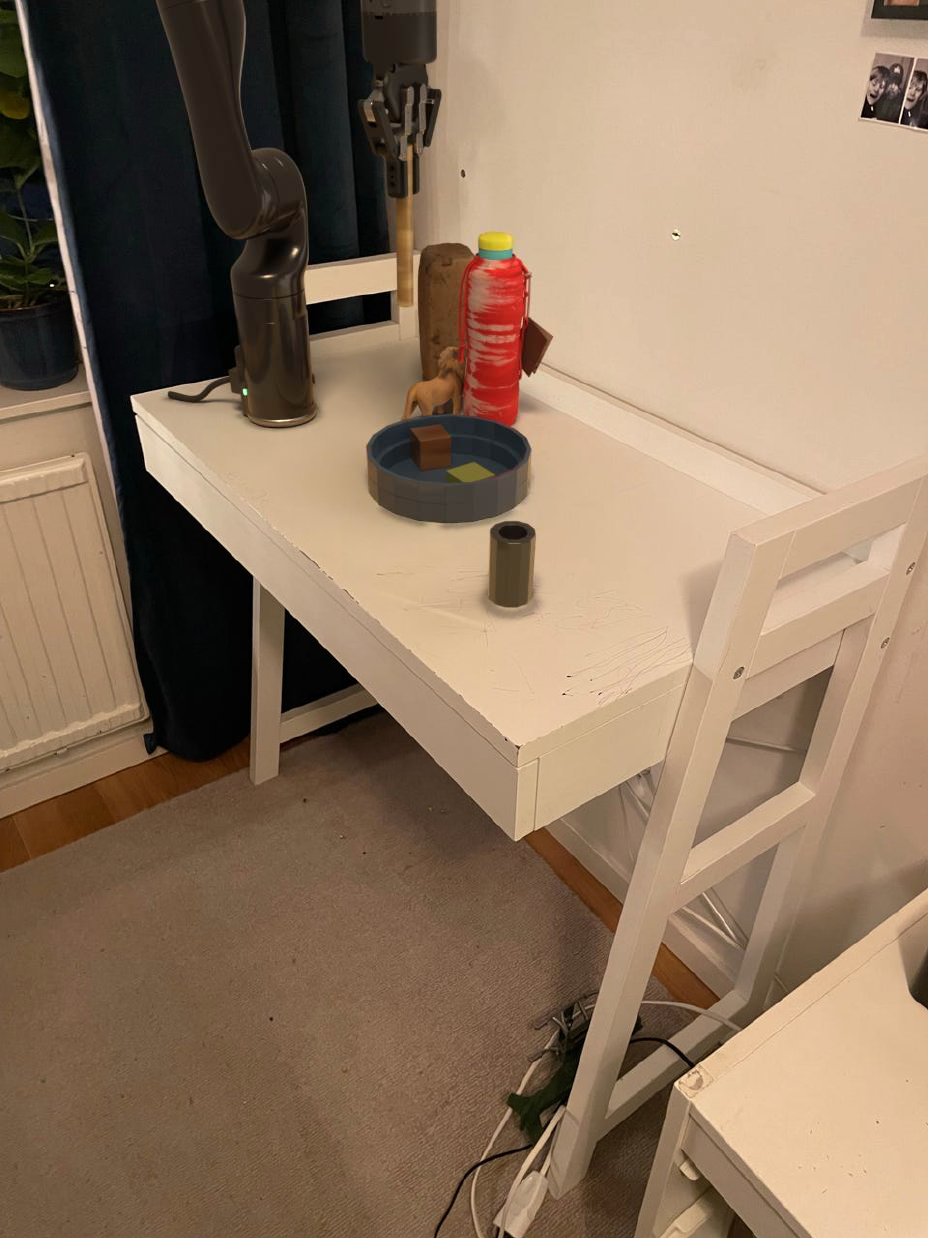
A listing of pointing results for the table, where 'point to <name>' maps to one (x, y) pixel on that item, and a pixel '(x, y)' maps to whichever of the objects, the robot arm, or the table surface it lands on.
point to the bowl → (427, 490)
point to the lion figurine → (439, 386)
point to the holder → (511, 563)
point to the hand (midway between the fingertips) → (403, 194)
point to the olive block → (467, 473)
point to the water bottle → (497, 330)
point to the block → (440, 302)
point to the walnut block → (430, 447)
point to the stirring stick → (405, 239)
